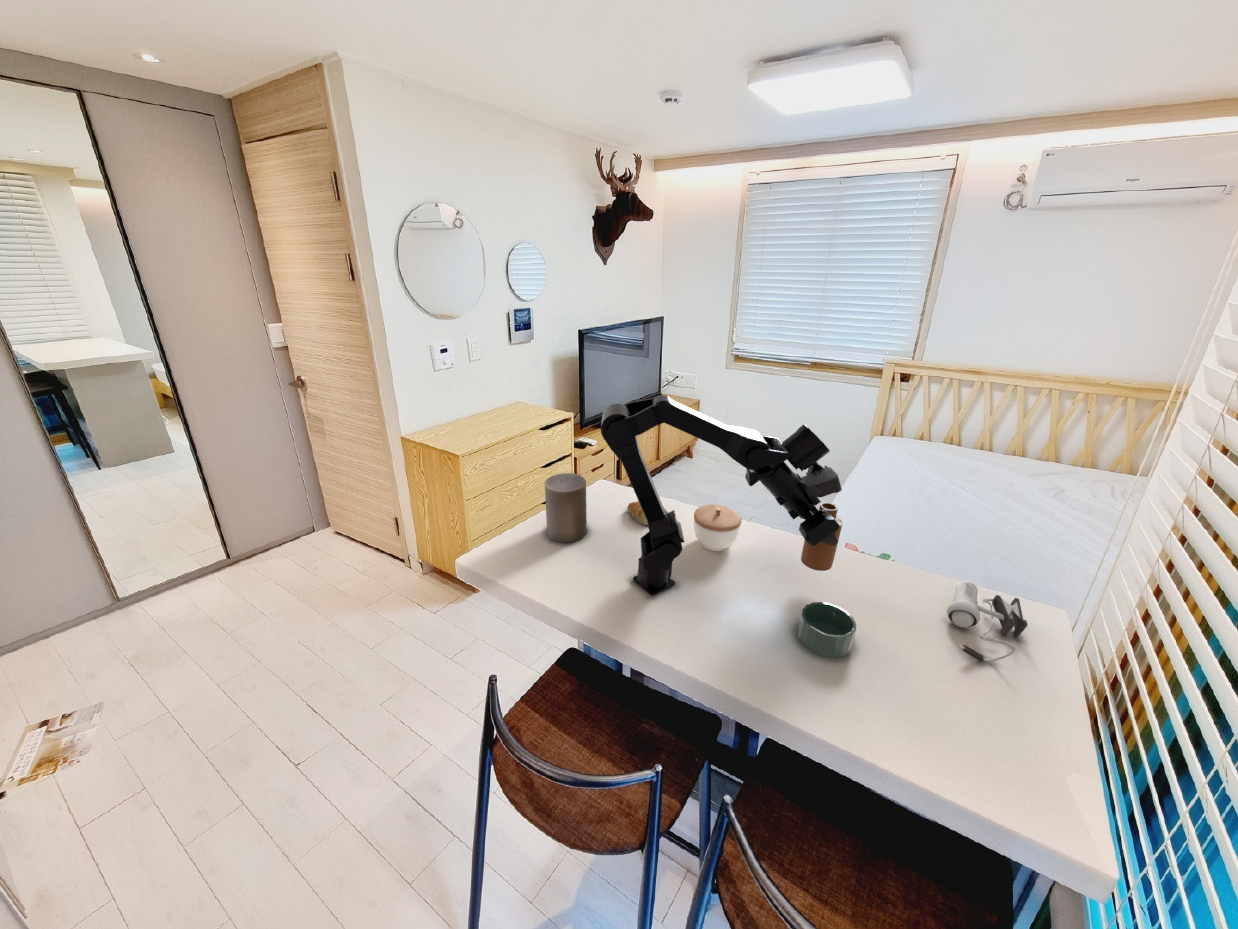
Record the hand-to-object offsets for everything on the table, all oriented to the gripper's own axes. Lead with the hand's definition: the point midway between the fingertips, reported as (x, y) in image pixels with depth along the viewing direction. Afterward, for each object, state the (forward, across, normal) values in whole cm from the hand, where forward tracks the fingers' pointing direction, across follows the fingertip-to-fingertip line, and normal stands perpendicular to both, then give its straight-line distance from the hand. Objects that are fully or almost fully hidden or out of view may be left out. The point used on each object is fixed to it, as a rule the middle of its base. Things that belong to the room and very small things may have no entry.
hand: (829, 534), depth 100 cm
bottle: (+4, 0, +6) cm, 7 cm away
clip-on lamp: (+27, -14, -9) cm, 31 cm away
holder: (+6, -15, +12) cm, 20 cm away
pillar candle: (-29, +19, +48) cm, 59 cm away
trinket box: (-4, +15, +22) cm, 27 cm away
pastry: (-16, +27, +34) cm, 46 cm away
